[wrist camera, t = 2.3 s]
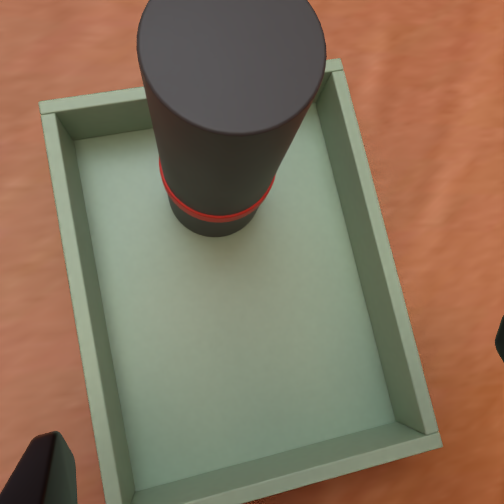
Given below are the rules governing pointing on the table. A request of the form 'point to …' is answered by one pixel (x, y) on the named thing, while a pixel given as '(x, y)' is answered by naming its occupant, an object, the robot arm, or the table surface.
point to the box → (234, 313)
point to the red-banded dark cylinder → (226, 99)
